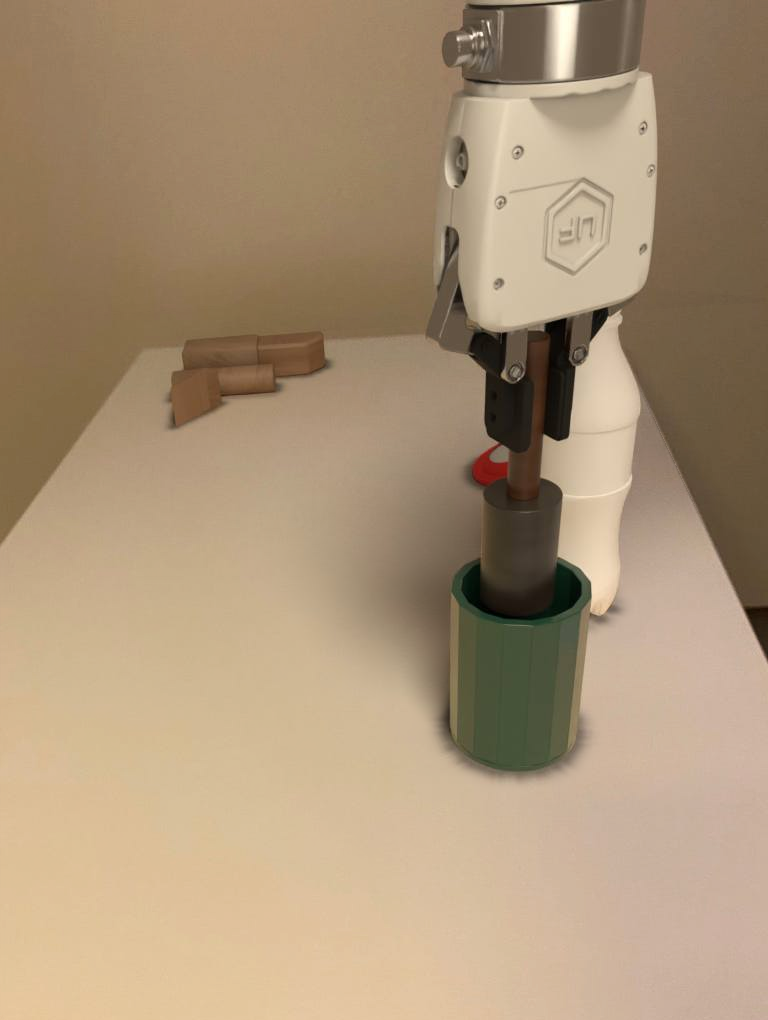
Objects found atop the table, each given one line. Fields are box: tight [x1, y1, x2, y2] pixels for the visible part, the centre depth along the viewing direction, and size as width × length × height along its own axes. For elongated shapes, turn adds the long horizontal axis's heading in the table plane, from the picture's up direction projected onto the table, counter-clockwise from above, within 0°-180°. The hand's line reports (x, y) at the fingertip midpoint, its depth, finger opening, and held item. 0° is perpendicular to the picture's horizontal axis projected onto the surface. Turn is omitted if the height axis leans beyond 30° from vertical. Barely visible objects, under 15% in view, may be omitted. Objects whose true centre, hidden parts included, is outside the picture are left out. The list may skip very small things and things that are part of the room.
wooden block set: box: [169, 330, 326, 427], centre depth 117 cm, size 17×6×18 cm
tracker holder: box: [471, 443, 509, 487], centre depth 94 cm, size 12×4×10 cm
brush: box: [480, 329, 563, 616], centre depth 56 cm, size 4×4×16 cm
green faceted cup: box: [449, 556, 592, 773], centre depth 63 cm, size 8×8×12 cm
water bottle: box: [540, 309, 642, 617], centre depth 71 cm, size 7×7×25 cm
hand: (526, 435), depth 54 cm, fingers closed on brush
